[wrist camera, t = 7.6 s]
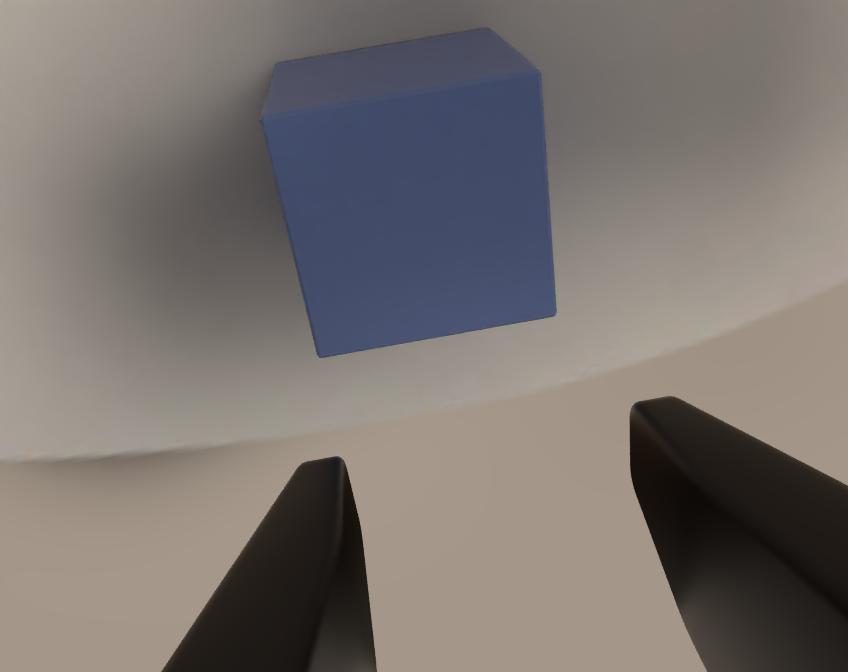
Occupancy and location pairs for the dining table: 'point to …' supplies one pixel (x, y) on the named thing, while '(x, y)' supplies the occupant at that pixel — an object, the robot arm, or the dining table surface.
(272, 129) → the blue block
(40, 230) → the dining table surface
